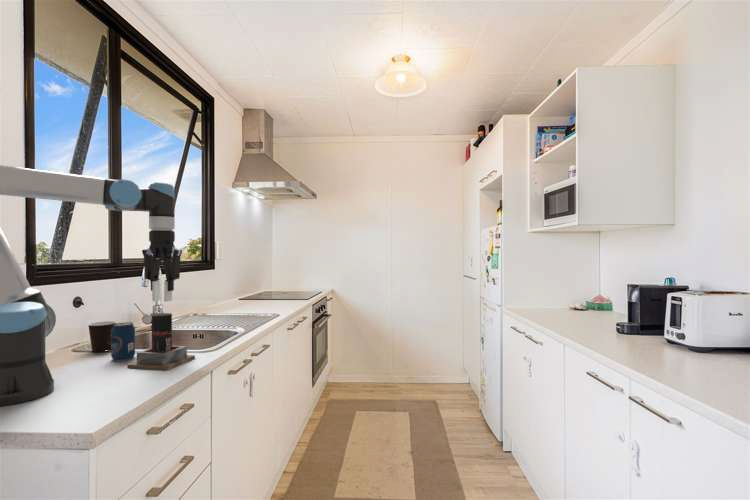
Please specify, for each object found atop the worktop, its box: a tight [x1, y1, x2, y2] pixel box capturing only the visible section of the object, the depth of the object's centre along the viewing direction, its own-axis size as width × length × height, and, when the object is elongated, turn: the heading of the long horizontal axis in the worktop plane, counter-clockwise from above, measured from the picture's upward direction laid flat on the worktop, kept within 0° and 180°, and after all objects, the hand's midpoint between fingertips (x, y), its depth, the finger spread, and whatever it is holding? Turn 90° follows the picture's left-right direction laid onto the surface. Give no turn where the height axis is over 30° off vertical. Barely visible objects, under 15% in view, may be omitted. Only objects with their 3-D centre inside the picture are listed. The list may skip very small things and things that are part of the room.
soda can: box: [110, 322, 136, 362], centre depth 137 cm, size 7×7×12 cm
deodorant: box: [151, 312, 173, 353], centre depth 132 cm, size 6×6×15 cm
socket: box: [127, 345, 196, 371], centre depth 132 cm, size 14×14×4 cm
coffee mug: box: [87, 320, 117, 353], centre depth 150 cm, size 12×9×10 cm
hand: (162, 300), depth 132 cm, fingers open, 4 cm apart
